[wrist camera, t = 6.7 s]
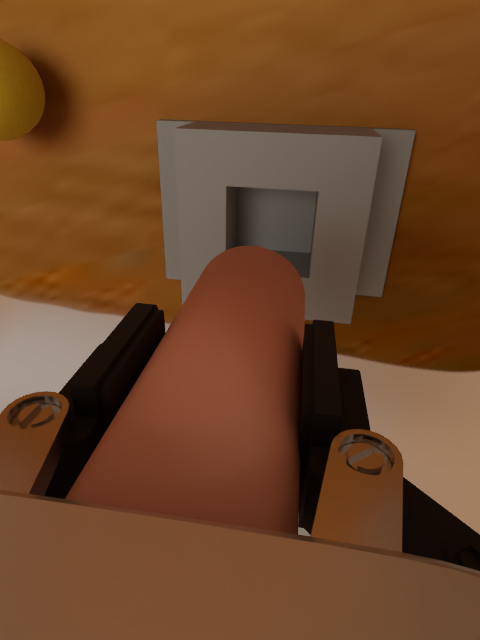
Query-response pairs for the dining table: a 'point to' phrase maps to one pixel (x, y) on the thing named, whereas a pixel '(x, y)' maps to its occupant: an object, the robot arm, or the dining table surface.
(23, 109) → the lemon
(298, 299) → the peg
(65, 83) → the dining table surface
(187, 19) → the dining table surface
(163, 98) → the dining table surface
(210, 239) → the socket
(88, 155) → the dining table surface
